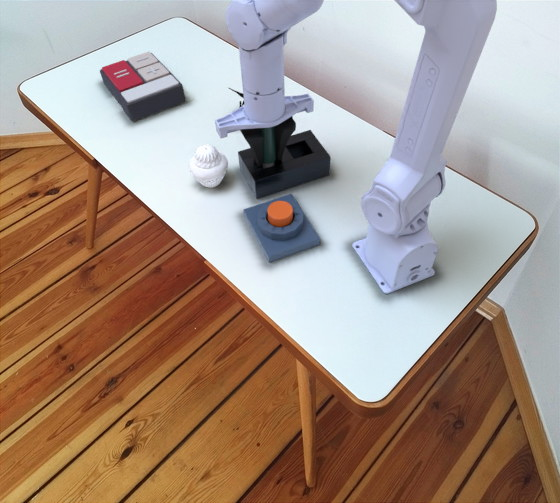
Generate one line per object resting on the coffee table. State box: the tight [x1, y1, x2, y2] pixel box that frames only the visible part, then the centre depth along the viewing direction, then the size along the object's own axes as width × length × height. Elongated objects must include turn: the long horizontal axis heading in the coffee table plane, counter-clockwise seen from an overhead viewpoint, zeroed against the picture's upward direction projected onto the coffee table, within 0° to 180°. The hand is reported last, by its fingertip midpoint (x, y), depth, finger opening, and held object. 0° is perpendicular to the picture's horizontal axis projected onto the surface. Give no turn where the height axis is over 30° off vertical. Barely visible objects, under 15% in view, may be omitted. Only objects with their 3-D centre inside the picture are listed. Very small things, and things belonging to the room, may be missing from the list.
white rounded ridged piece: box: [188, 144, 229, 189], centre depth 81 cm, size 6×6×7 cm
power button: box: [267, 201, 293, 227], centre depth 74 cm, size 4×4×2 cm
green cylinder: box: [259, 126, 276, 169], centre depth 79 cm, size 3×3×10 cm
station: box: [242, 193, 321, 263], centre depth 76 cm, size 10×8×3 cm
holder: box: [237, 129, 332, 200], centre depth 83 cm, size 7×13×4 cm, turn 113°
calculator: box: [99, 51, 187, 122], centre depth 98 cm, size 11×4×15 cm
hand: (267, 159), depth 81 cm, fingers closed on green cylinder, 3 cm apart
